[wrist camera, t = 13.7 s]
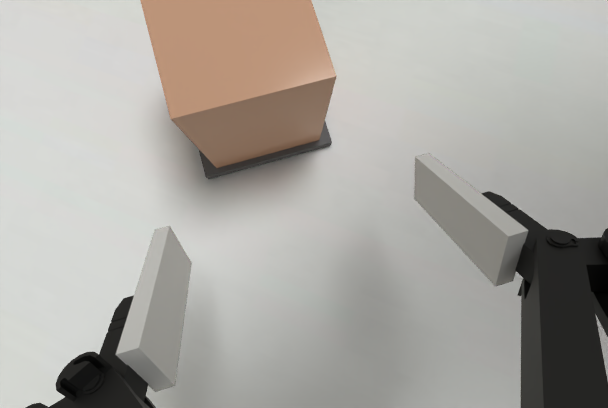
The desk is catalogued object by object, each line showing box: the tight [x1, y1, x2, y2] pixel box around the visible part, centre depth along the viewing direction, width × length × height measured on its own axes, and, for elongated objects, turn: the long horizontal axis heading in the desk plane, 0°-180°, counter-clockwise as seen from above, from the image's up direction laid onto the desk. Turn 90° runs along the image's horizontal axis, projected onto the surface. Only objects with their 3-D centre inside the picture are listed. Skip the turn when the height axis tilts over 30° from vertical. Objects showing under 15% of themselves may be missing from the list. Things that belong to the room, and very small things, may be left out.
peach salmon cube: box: [141, 0, 336, 168], centre depth 22 cm, size 9×9×10 cm
